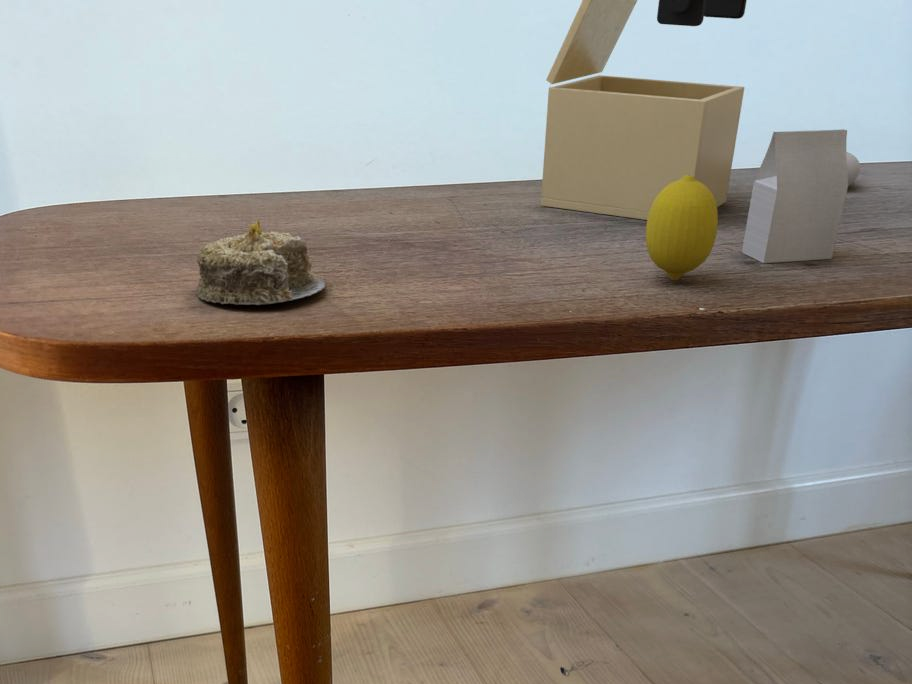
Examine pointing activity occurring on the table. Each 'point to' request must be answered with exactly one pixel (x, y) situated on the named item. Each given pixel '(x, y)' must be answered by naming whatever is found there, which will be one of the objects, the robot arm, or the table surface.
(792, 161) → the grey upright tapered block
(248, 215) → the table surface
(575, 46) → the box lid
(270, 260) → the cake
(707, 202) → the lemon
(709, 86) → the tan open box
